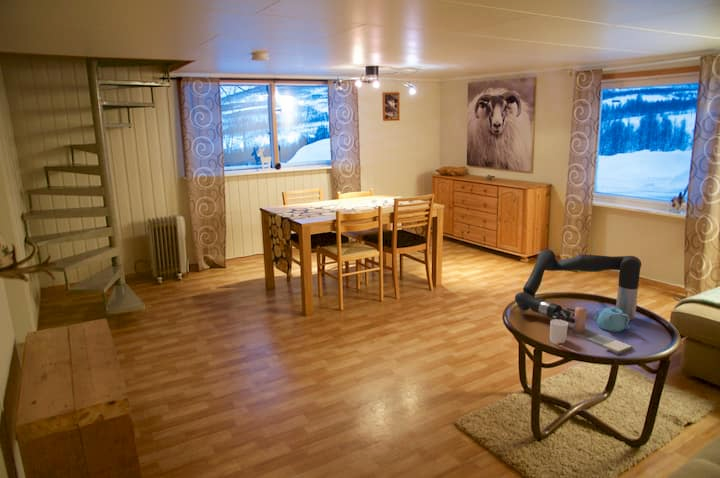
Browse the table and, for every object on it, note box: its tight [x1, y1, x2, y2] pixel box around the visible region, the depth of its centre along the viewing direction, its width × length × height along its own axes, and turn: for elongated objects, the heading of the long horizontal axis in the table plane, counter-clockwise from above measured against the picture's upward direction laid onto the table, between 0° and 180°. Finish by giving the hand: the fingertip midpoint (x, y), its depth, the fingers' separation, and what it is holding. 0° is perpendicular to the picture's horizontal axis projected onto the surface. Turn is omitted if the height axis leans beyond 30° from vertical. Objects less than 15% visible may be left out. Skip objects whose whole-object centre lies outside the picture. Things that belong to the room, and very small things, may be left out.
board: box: [567, 328, 634, 356], centre depth 239 cm, size 12×28×2 cm, turn 31°
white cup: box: [549, 319, 569, 345], centre depth 237 cm, size 8×8×10 cm
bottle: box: [572, 306, 588, 334], centre depth 246 cm, size 5×5×12 cm
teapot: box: [593, 306, 631, 333], centre depth 251 cm, size 20×17×12 cm
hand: (579, 319), depth 245 cm, fingers open, 8 cm apart
